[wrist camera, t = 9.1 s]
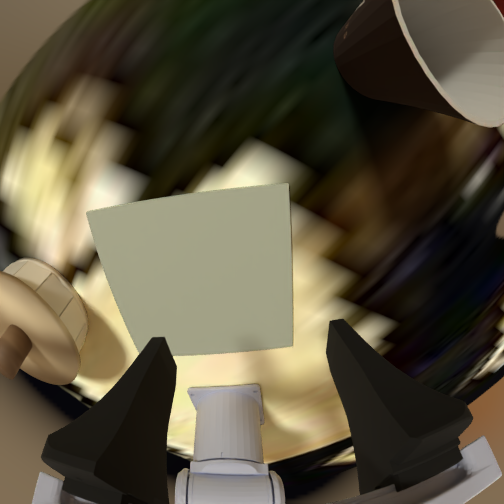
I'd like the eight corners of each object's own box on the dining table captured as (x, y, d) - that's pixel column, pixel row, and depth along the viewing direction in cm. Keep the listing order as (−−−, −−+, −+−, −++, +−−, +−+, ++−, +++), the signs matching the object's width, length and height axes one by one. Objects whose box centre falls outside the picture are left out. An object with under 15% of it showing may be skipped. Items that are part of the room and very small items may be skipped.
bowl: (104, 346, 25) (90, 378, 21) (36, 341, 25) (21, 367, 21) (62, 251, 20) (34, 279, 16) (-4, 262, 20) (-28, 284, 16)
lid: (103, 385, 21) (89, 425, 17) (20, 371, 21) (4, 400, 17) (37, 264, 15) (0, 303, 11) (-36, 275, 15) (-63, 301, 11)
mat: (292, 344, 25) (292, 346, 25) (141, 353, 25) (140, 355, 25) (287, 183, 18) (288, 184, 18) (87, 211, 18) (85, 212, 18)
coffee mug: (341, 126, 17) (434, 140, 8) (298, 15, 13) (351, -59, 4) (456, 102, 15) (550, 117, 7) (425, 9, 12) (508, -15, 3)
